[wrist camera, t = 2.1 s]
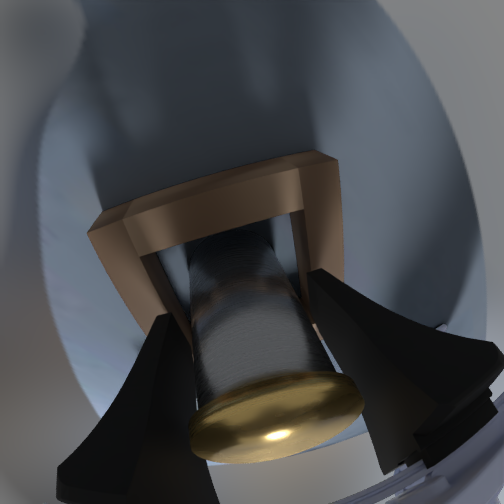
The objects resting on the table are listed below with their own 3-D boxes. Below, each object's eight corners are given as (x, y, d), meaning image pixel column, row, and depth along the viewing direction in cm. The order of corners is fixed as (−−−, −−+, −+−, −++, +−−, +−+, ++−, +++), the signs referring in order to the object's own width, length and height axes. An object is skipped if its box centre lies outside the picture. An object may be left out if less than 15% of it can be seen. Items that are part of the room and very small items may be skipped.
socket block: (314, 149, 10) (337, 160, 9) (327, 308, 15) (342, 332, 13) (102, 211, 10) (86, 233, 8) (178, 352, 15) (179, 379, 13)
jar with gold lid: (272, 210, 11) (377, 364, 5) (287, 291, 14) (354, 432, 7) (167, 241, 11) (155, 427, 4) (201, 317, 14) (222, 470, 7)
